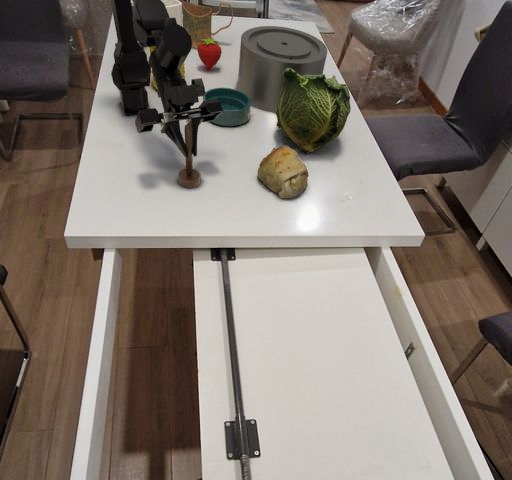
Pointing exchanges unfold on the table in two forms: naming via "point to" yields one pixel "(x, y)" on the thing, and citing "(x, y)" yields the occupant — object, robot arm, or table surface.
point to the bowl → (230, 105)
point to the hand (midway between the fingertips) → (191, 157)
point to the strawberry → (209, 52)
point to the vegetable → (312, 109)
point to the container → (276, 61)
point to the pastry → (283, 172)
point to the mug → (199, 21)
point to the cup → (174, 10)
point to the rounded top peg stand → (189, 164)
